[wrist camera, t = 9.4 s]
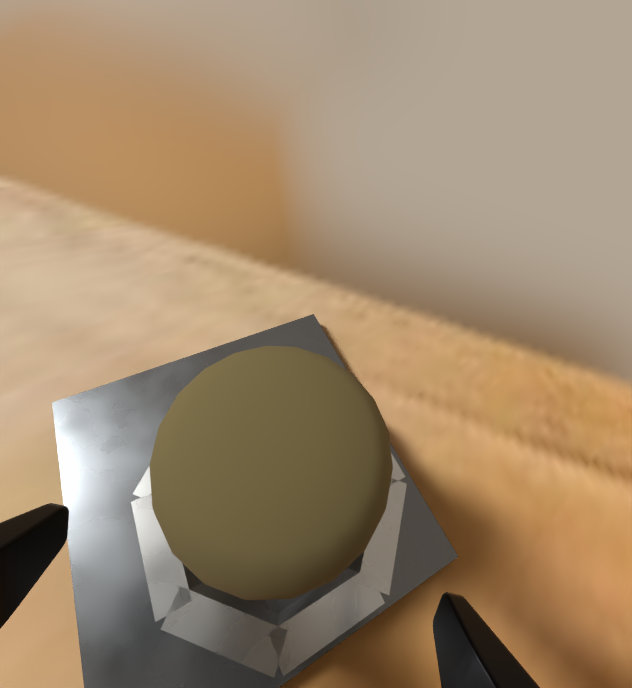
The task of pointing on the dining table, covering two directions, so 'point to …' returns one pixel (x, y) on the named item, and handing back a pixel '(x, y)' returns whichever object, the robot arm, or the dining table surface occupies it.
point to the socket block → (176, 579)
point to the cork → (270, 472)
